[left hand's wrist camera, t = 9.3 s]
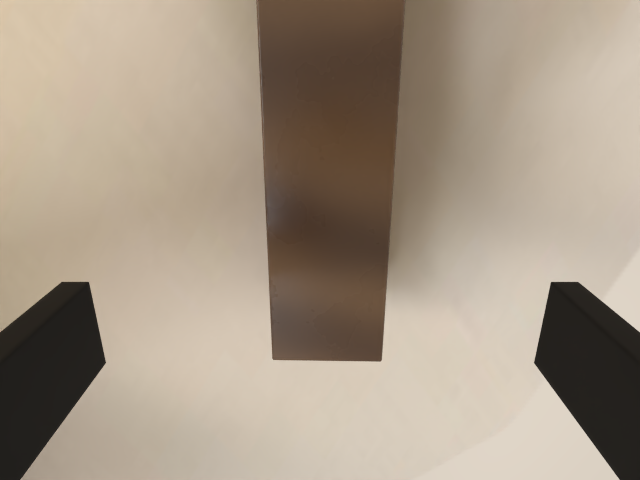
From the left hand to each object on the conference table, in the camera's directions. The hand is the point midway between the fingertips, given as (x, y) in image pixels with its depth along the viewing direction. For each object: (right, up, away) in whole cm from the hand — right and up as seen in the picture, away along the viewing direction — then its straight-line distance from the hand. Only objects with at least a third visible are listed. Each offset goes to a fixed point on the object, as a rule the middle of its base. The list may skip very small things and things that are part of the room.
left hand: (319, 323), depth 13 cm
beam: (+1, +24, +7) cm, 25 cm away
